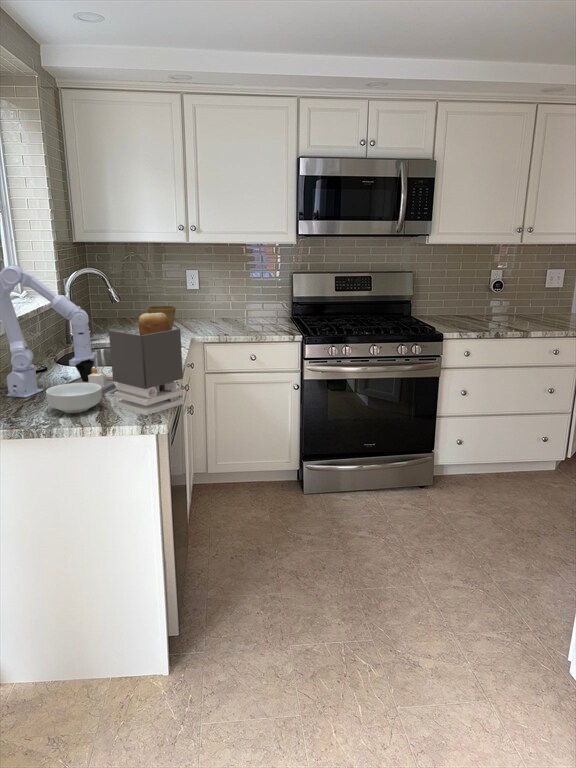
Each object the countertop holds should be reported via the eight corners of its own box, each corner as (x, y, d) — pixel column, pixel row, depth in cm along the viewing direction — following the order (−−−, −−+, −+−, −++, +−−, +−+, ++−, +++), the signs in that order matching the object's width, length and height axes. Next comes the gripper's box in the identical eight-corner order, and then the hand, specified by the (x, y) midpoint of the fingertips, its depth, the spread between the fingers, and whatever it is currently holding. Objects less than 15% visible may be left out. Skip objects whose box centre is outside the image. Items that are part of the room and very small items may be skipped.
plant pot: (151, 340, 297) (149, 309, 293) (147, 335, 310) (145, 306, 306) (179, 338, 302) (178, 308, 298) (174, 333, 315) (172, 304, 311)
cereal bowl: (110, 411, 179) (108, 390, 178) (55, 421, 170) (53, 398, 168) (94, 399, 193) (92, 379, 191) (42, 407, 183) (40, 386, 182)
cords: (112, 393, 199) (112, 390, 198) (56, 389, 204) (56, 386, 203) (138, 380, 217) (138, 377, 216) (86, 377, 222) (86, 374, 221)
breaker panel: (97, 397, 195) (95, 379, 193) (56, 394, 198) (54, 376, 197) (127, 381, 214) (126, 365, 213) (89, 379, 218) (87, 363, 216)
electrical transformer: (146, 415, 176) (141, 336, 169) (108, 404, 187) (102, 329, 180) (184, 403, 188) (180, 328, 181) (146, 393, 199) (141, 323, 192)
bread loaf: (156, 369, 233) (152, 309, 227) (182, 373, 227) (179, 311, 221) (133, 377, 221) (128, 313, 215) (160, 381, 215) (156, 315, 209)
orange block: (93, 382, 206) (92, 370, 205) (83, 382, 207) (82, 370, 206) (97, 380, 209) (96, 368, 208) (88, 379, 210) (87, 368, 209)
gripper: (80, 348, 194) (84, 386, 197) (103, 340, 207) (106, 376, 211) (62, 347, 195) (66, 385, 199) (86, 340, 209) (89, 375, 213)
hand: (85, 381), depth 205 cm, fingers closed
